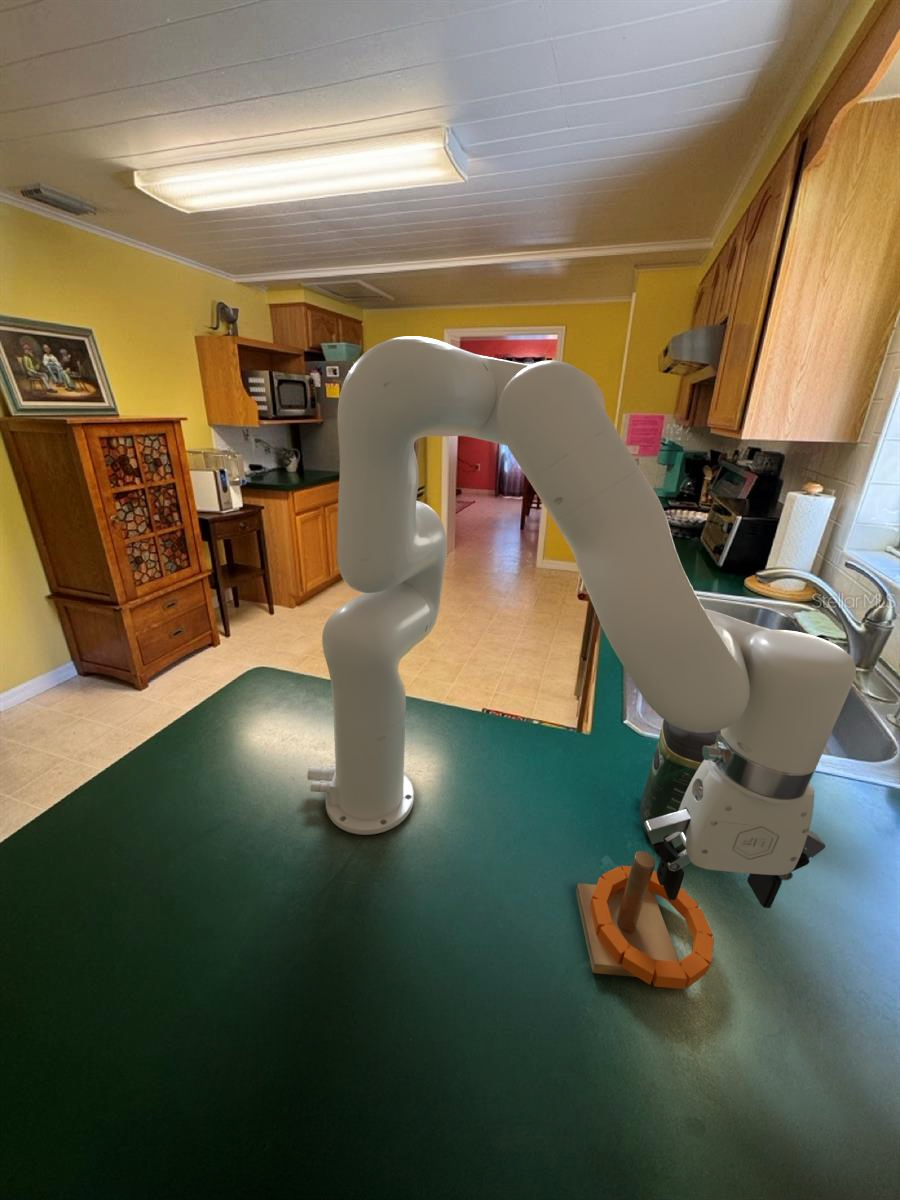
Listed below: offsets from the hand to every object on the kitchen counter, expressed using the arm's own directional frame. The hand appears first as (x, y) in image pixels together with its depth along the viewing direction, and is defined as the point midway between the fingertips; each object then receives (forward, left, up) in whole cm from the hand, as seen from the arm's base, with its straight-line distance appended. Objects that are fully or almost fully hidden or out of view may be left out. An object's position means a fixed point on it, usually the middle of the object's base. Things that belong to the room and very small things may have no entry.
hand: (712, 890), depth 50 cm
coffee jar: (+3, +16, -8) cm, 18 cm away
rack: (-8, 0, -8) cm, 11 cm away
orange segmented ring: (-5, 0, -6) cm, 8 cm away
